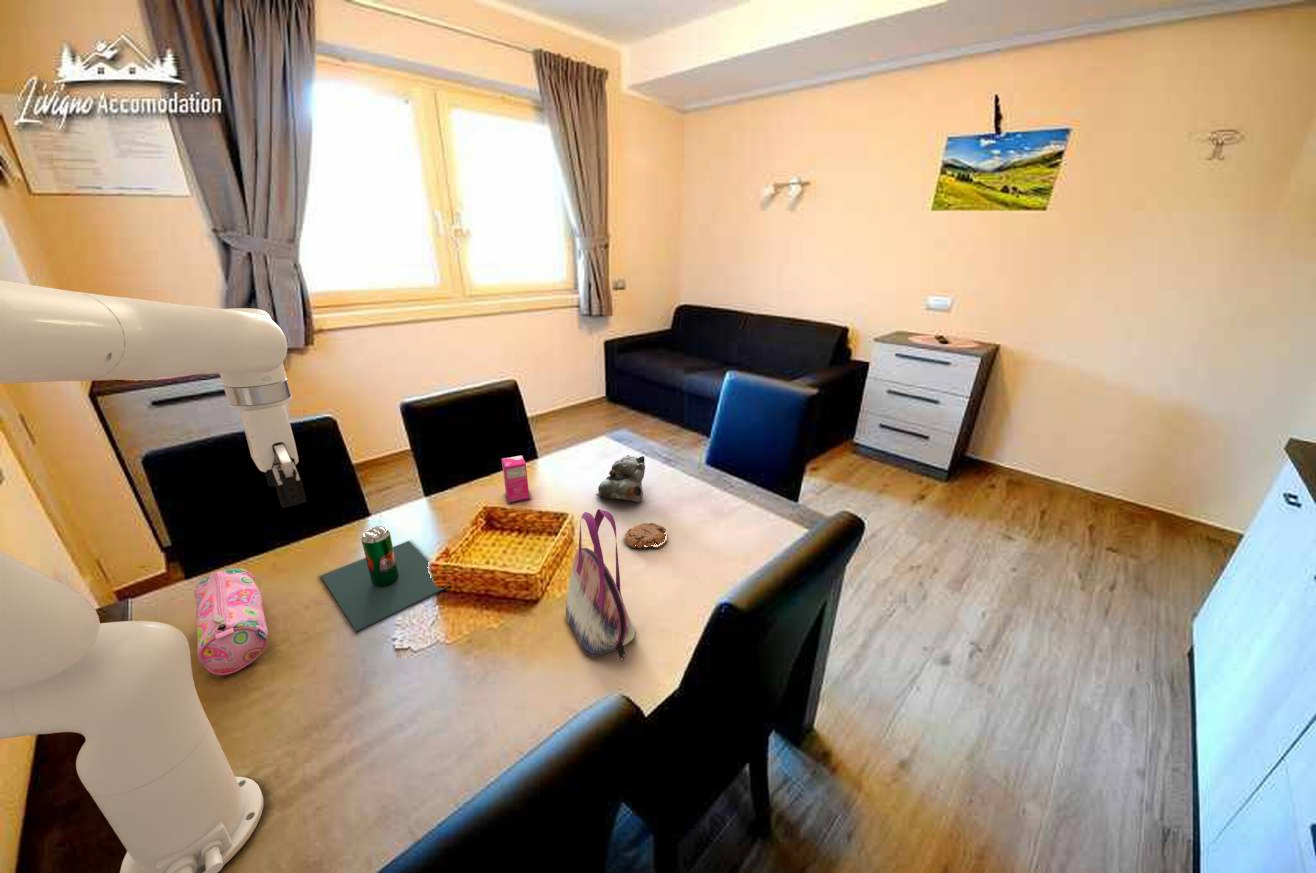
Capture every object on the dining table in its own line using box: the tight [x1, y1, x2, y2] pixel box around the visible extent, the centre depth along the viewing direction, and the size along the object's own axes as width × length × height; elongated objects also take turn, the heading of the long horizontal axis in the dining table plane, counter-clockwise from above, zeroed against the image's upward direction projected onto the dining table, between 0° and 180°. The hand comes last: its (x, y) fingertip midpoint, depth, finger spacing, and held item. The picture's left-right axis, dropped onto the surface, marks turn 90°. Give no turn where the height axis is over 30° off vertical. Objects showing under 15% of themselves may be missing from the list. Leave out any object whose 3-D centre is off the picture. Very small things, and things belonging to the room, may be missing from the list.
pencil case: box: [193, 567, 269, 676], centre depth 85 cm, size 21×9×9 cm, turn 41°
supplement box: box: [501, 455, 531, 504], centre depth 133 cm, size 6×6×12 cm
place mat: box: [320, 540, 448, 633], centre depth 101 cm, size 22×18×1 cm
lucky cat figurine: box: [594, 454, 646, 503], centre depth 136 cm, size 15×12×14 cm
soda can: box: [361, 525, 399, 587], centre depth 99 cm, size 5×5×12 cm
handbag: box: [565, 508, 636, 663], centre depth 86 cm, size 21×10×25 cm, turn 30°
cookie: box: [624, 522, 669, 549], centre depth 117 cm, size 10×11×3 cm
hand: (287, 493), depth 79 cm, fingers open, 9 cm apart
